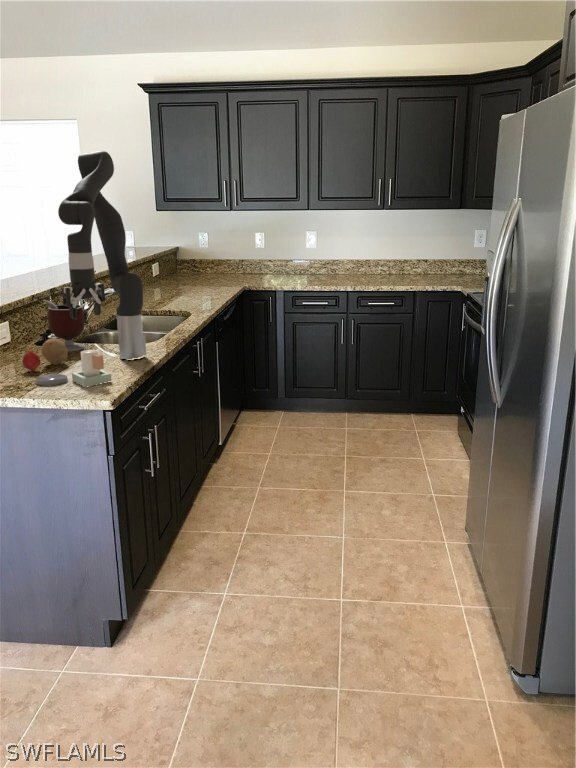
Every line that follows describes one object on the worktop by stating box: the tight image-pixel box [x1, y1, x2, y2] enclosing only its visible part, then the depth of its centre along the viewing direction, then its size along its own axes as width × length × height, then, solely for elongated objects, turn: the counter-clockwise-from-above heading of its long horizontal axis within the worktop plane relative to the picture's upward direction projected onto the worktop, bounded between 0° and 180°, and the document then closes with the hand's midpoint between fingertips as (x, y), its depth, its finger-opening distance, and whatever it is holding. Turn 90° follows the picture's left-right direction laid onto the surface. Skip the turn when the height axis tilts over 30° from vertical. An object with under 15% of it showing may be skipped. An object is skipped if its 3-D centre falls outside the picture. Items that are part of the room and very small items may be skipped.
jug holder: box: [71, 369, 112, 388], centre depth 200 cm, size 9×9×3 cm
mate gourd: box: [42, 299, 86, 352], centre depth 243 cm, size 16×14×20 cm
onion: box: [22, 349, 41, 372], centre depth 211 cm, size 6×6×8 cm
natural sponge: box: [40, 337, 69, 366], centre depth 220 cm, size 9×9×10 cm
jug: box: [80, 349, 105, 377], centre depth 198 cm, size 9×6×10 cm, turn 53°
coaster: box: [35, 373, 69, 386], centre depth 200 cm, size 10×10×1 cm
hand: (86, 317), depth 194 cm, fingers open, 8 cm apart
